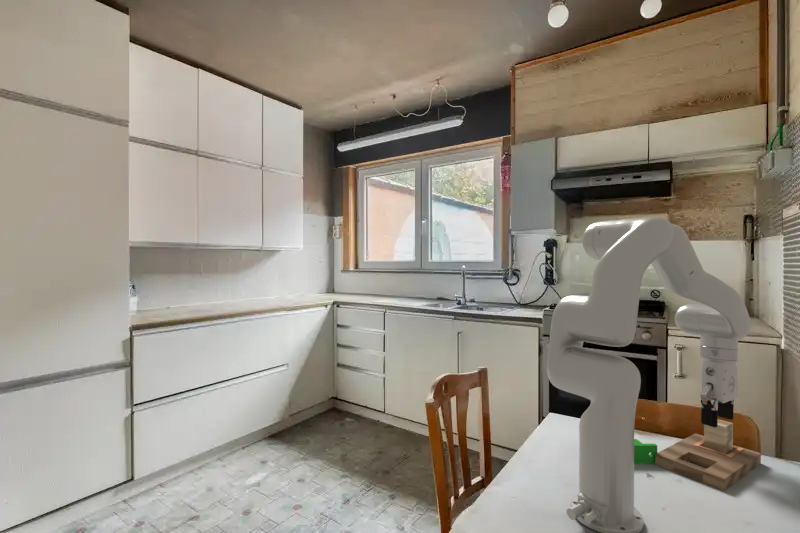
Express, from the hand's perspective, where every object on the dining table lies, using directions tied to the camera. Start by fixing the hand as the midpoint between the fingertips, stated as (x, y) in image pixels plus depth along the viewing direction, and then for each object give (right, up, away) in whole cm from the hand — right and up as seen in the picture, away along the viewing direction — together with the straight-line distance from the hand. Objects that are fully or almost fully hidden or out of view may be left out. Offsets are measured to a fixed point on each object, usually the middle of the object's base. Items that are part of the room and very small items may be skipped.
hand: (717, 421), depth 104 cm
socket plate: (-5, -9, -3) cm, 11 cm away
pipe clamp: (-22, -10, -1) cm, 24 cm away
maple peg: (0, -9, 0) cm, 9 cm away
